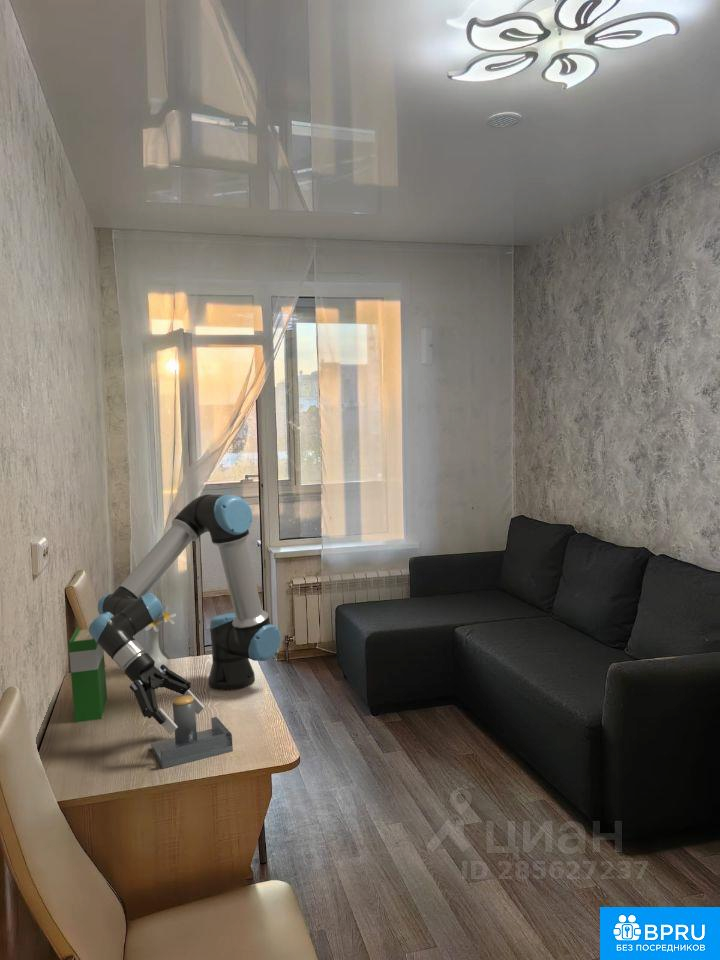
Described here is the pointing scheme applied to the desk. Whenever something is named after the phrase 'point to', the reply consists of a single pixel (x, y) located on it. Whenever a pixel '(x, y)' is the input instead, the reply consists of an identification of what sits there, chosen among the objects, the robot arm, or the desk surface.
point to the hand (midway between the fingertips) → (188, 720)
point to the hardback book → (87, 676)
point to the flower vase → (153, 633)
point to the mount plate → (194, 746)
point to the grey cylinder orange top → (184, 719)
